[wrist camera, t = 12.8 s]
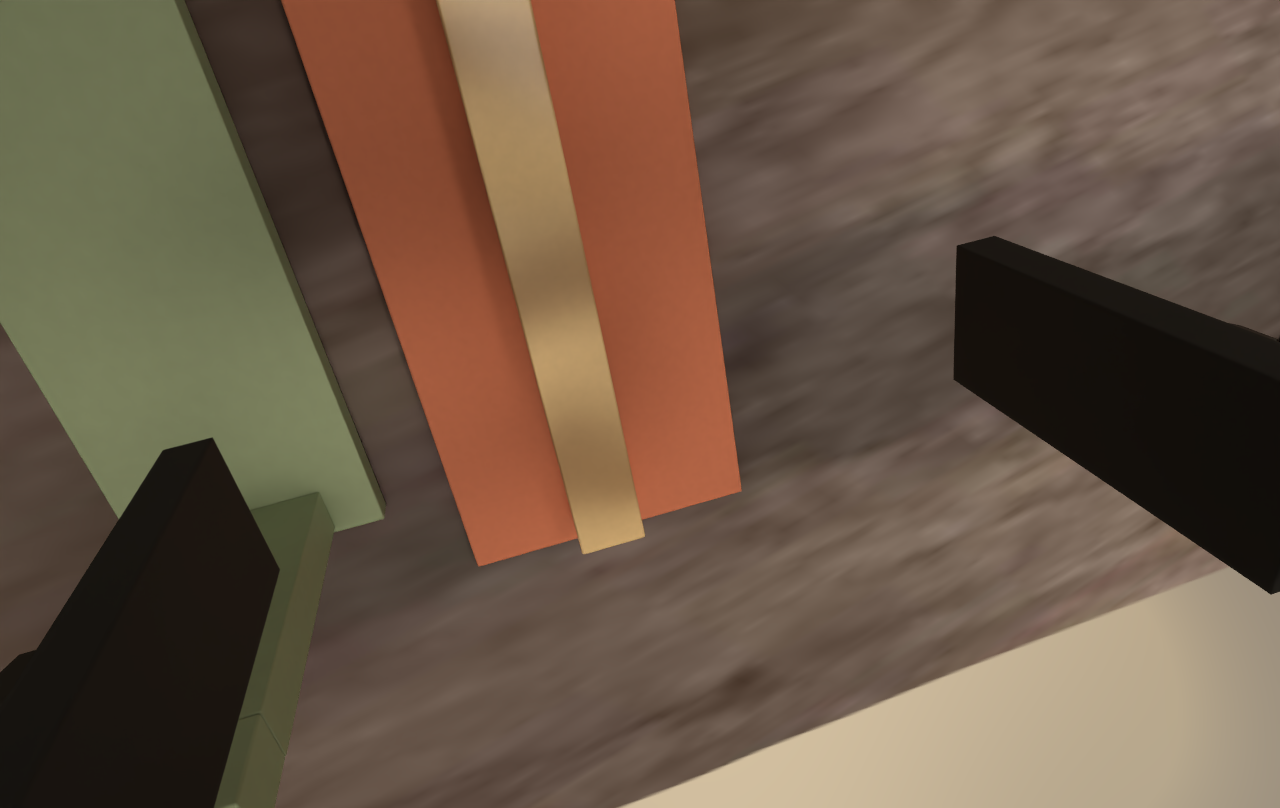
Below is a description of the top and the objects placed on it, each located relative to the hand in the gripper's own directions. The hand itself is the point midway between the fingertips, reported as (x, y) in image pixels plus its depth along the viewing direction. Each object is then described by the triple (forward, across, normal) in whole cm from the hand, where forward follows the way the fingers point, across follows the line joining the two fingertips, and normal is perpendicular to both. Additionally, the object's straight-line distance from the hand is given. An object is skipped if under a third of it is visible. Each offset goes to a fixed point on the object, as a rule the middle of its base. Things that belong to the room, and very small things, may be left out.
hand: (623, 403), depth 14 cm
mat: (+14, 0, 0) cm, 14 cm away
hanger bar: (+13, 0, 0) cm, 13 cm away
